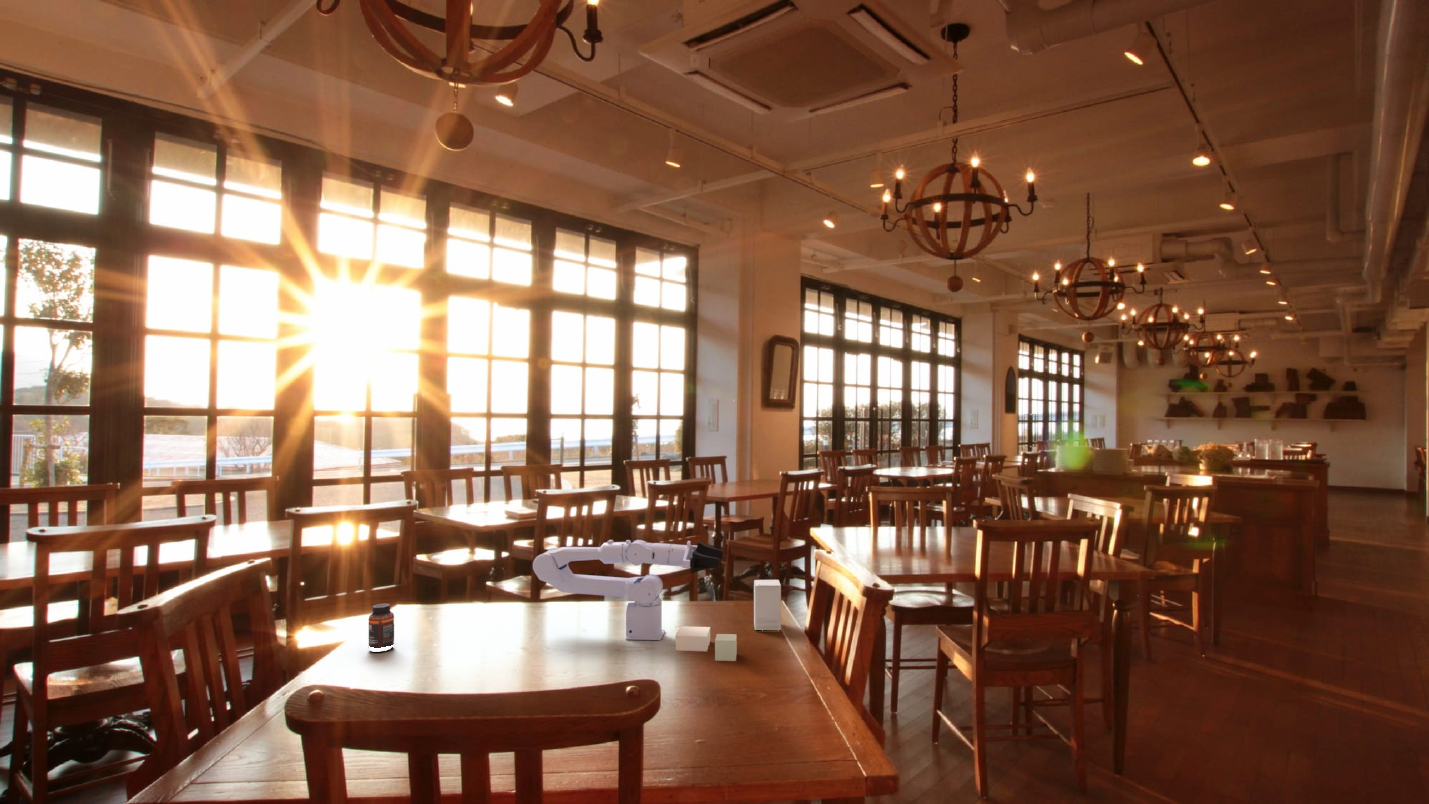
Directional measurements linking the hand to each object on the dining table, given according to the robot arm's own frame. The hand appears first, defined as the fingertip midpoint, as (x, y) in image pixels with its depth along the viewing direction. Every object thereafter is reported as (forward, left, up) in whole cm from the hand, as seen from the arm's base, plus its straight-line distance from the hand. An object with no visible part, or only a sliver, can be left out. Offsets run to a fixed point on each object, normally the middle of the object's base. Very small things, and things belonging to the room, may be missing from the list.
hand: (721, 558), depth 191 cm
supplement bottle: (-86, -15, -22) cm, 90 cm away
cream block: (-7, -6, -22) cm, 23 cm away
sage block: (+2, -14, -21) cm, 26 cm away
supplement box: (+12, +11, -22) cm, 27 cm away
